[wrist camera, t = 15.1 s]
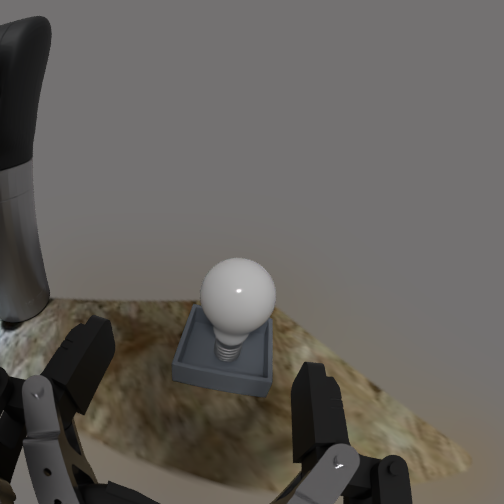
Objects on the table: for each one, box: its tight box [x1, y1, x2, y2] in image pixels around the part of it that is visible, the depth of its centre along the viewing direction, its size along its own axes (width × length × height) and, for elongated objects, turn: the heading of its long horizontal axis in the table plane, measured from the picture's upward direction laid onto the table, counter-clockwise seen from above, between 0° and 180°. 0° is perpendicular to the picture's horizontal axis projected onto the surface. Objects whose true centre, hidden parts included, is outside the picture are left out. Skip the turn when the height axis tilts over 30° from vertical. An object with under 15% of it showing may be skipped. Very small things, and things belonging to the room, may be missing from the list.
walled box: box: [172, 304, 272, 397], centre depth 26 cm, size 9×9×3 cm
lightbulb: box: [200, 258, 276, 362], centre depth 24 cm, size 6×6×11 cm
